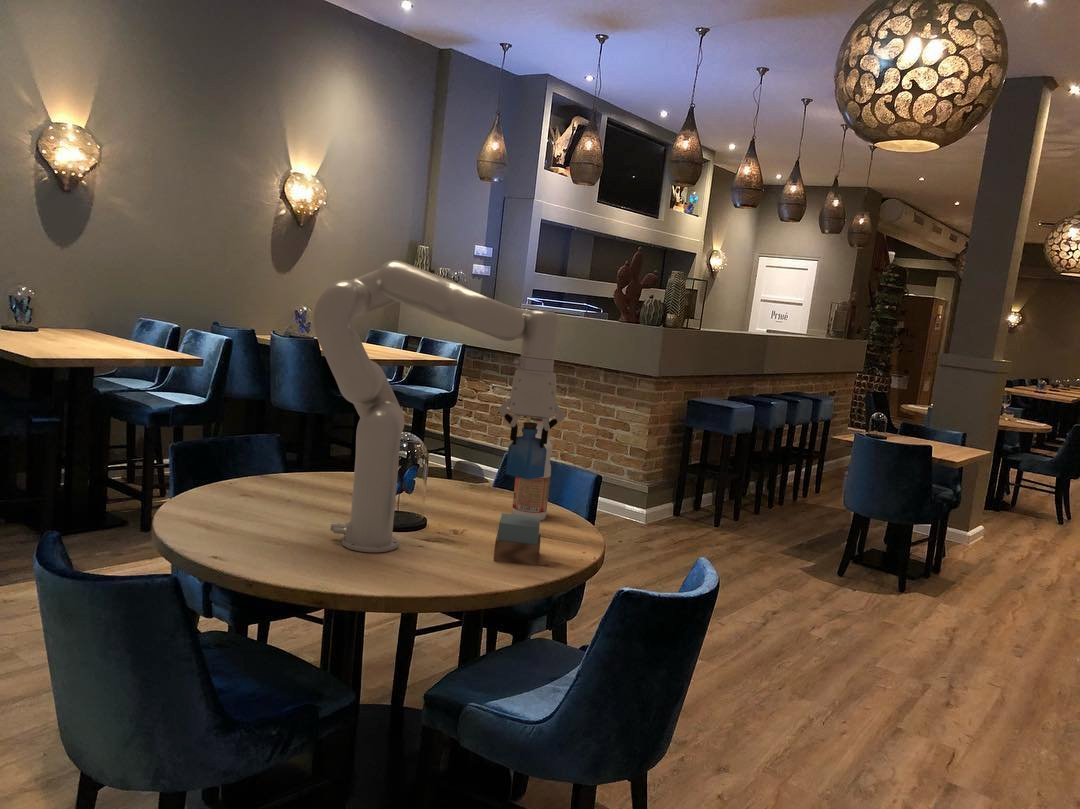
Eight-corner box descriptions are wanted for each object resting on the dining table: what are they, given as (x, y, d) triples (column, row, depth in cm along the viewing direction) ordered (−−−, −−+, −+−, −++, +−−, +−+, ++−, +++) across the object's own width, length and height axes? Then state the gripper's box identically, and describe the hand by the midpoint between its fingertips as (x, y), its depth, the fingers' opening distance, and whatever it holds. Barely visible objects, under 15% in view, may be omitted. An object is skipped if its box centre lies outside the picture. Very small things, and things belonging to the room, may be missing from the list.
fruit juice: (525, 523, 227) (537, 419, 223) (504, 514, 234) (515, 413, 231) (552, 520, 233) (564, 419, 229) (531, 511, 240) (541, 413, 237)
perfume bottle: (522, 471, 198) (527, 420, 196) (543, 476, 194) (549, 424, 193) (505, 474, 193) (511, 421, 191) (527, 479, 189) (533, 426, 188)
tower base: (493, 562, 191) (495, 540, 190) (496, 549, 200) (498, 529, 200) (537, 567, 191) (540, 545, 190) (538, 554, 200) (540, 533, 200)
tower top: (497, 540, 191) (499, 522, 190) (500, 529, 200) (502, 513, 199) (537, 544, 190) (539, 527, 190) (538, 534, 199) (540, 517, 199)
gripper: (497, 362, 187) (489, 444, 189) (575, 371, 187) (566, 452, 189) (499, 360, 194) (491, 438, 196) (574, 368, 194) (565, 446, 196)
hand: (528, 444), depth 192 cm, fingers closed on perfume bottle, 5 cm apart
